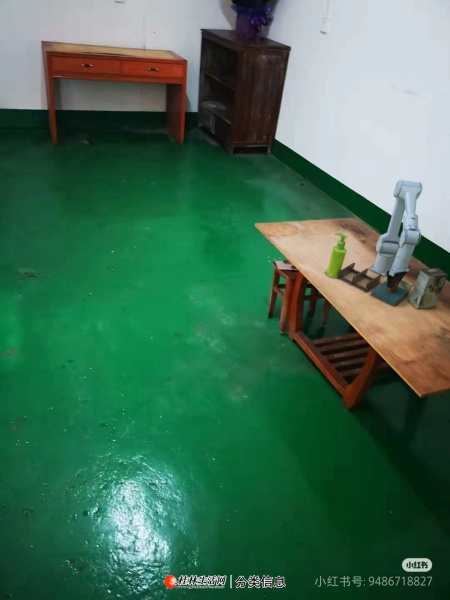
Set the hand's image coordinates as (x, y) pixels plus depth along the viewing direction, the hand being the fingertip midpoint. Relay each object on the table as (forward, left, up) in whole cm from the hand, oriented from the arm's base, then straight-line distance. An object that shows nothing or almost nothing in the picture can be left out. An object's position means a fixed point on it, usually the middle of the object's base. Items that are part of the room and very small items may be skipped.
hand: (393, 284), depth 197 cm
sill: (0, 0, -5) cm, 5 cm away
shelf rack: (0, -15, -5) cm, 16 cm away
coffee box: (-5, +13, -6) cm, 15 cm away
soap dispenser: (+5, -26, -6) cm, 28 cm away
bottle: (0, 0, -3) cm, 3 cm away
